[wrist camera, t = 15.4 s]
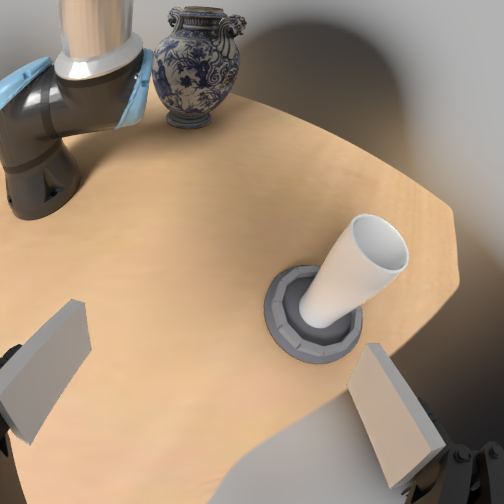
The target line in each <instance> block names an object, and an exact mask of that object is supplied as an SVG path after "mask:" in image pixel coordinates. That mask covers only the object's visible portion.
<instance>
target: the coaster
mask: <svg viewBox="0 0 504 504" xmlns="http://www.w3.org/2000/svg"><path fill="white" fill-rule="evenodd" d="M320 268H321V266H318V267H317V265H316V266H311V265H301V266H296V267H292V268H290V269H287V270H285V271H284V272H282V273H281V274H280V275H278V276H277V277H276V278H275V280H274V281H273V282H272V284H271V286H270V287H269V289H268V291H267V294H266V297H265V302H264V316H265V321H266V324H267V327H268V330H269V332H270V334H271V336H272V337H273V339H274V340H275V342H276V343H277V344H278V345H279V346H280V347H281V348H282V349H283V350H284V351H285V352H286V353H288V354H289V355H291V356H292V357H294V358H296V359H298V360H301V361H303V362H307V363H312V364H325V363H330V362H333V361H336V360H338V359H340V358H342V357H343V356H345V355H346V354H348V353H349V352H350V351H351V350H352V349H353V348H354V346H355V345H356V343H357V342H358V340H359V337H360V334H361V330H362V308H361V305H360V306H359V307H357V308H356V309H354V310H353V311H351V312H349V313H348V314H346V315H345V316H343V317H341V318H340V319H338V320H337V321H335V322H334V323H333V324H332V325H330V326H328V327H326V328H314V327H312V326H310V325H308V324H307V323H306V322H305V321H304V320H303V319H302V317H301V315H300V312H299V302H300V299H301V297H302V296H303V295H304V293H305V292H306V291H307V289H308V288H309V286H310V284H311V283H312V281H313V279H314V278H315V276H316V274H317V273H318V271H319V269H320Z"/></svg>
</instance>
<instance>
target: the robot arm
mask: <svg viewBox="0 0 504 504" xmlns="http://www.w3.org/2000/svg"><path fill="white" fill-rule="evenodd" d="M57 7H58V17H59V25H60V33H61V40H62V46H63V51H62V52H61V53H60V55H59V56H58V57H57V59H56V61H55V65H52V63H53V61H52V60H51V58H50V57H45V58H41V59H38V60H36V61H33V62H31V63H29V64H27V65H25V66H24V67H22V68H20V69H18V70H16V71H15V72H13V73H12V74H10V75H9V76H7V77H6V78H4V79H3V80H1V81H0V161H1V163H2V166H3V169H4V171H5V178H6V190H7V198H8V203H9V206H10V208H11V210H12V212H13V213H14V215H15V216H16V217H18V218H19V219H22V220H35V219H39V218H42V217H45V216H47V215H49V214H51V213H53V212H54V211H56V210H57V209H59V208H60V207H61V206H63V205H64V204H65V203H66V202H67V201H68V200H69V199H70V198H71V197H72V195H73V194H74V193H75V191H76V189H77V187H78V185H79V182H80V173H79V169H78V165H77V162H76V161H75V159H74V158H73V156H72V155H71V153H70V152H69V150H68V149H67V147H66V146H65V144H64V143H63V141H62V137H67V136H72V135H78V134H84V133H91V132H98V131H105V130H116V129H118V128H122V127H127V126H133V125H135V124H137V123H139V122H140V121H141V119H142V117H143V115H144V111H145V106H146V101H147V95H148V89H149V81H150V76H151V70H152V63H153V51H152V50H149V49H146V48H144V49H143V41H142V39H141V37H140V36H139V35H138V34H136V33H134V32H132V31H131V29H132V14H133V0H57ZM91 350H92V349H91V343H90V337H89V331H88V325H87V317H86V310H85V303H84V302H81V301H77V300H74V299H71V300H70V301H69V302H68V303H67V304H66V305H65V306H63V307H62V308H61V309H60V310H59V311H58V312H57V313H56V314H55V315H54V316H53V317H52V318H50V319H49V320H48V321H47V322H46V323H45V324H44V325H43V326H42V327H41V328H40V329H39V330H38V331H37V332H36V333H35V334H34V335H33V336H32V337H31V338H30V339H29V340H28V341H27V342H26V343H25V344H24V345H23V346H22V345H20V344H18V345H16V346H14V347H12V348H10V349H9V350H8V351H7V352H6V353H5V354H4V355H3V358H2V357H1V358H0V504H27V502H26V500H25V497H24V494H23V491H22V487H21V484H20V481H19V477H18V474H17V470H16V466H15V462H14V458H13V453H12V448H11V443H10V438H9V435H8V433H7V431H8V430H9V428H10V429H11V431H12V432H13V433H14V435H15V436H16V437H17V438H19V439H20V440H22V441H23V442H25V443H27V444H28V445H31V443H32V442H33V440H34V438H35V436H36V435H37V433H38V431H39V429H40V428H41V426H42V424H43V423H44V421H45V419H46V418H47V416H48V414H49V413H50V411H51V410H52V408H53V406H54V405H55V403H56V402H57V400H58V398H59V397H60V395H61V394H62V392H63V391H64V389H65V388H66V386H67V385H68V383H69V382H70V380H71V379H72V377H73V376H74V374H75V373H76V371H77V370H78V368H79V367H80V366H81V364H82V363H83V361H84V360H85V358H86V357H87V356H88V354H89V353H90V351H91ZM347 387H348V389H349V391H350V394H351V396H352V398H353V400H354V403H355V405H356V407H357V410H358V412H359V414H360V417H361V419H362V421H363V423H364V426H365V428H366V431H367V433H368V435H369V438H370V440H371V443H372V445H373V448H374V450H375V453H376V455H377V457H378V460H379V462H380V465H381V467H382V470H383V472H384V475H385V477H386V480H387V482H388V485H389V488H393V487H397V486H400V485H403V484H405V483H406V482H408V481H409V480H410V479H411V478H412V477H414V479H415V482H414V483H413V484H411V485H410V486H409V487H407V488H406V489H405V490H404V491H403V492H402V493H401V495H404V494H405V493H406V492H408V491H409V490H410V491H409V493H408V494H407V495H406V496H407V499H406V502H405V504H504V451H503V449H502V447H501V446H500V445H499V444H498V443H496V442H493V441H492V442H488V443H487V444H486V445H485V446H484V447H483V448H482V449H481V450H476V451H470V450H469V449H468V448H467V447H466V446H464V445H461V444H457V445H454V444H453V442H452V441H451V440H450V438H449V436H448V434H447V433H446V431H445V430H444V428H443V426H442V425H441V423H440V422H439V421H438V419H437V417H436V416H435V415H434V414H433V411H432V409H431V408H430V407H429V405H428V404H427V403H426V402H425V401H423V400H422V399H421V398H416V396H415V395H414V393H413V392H412V390H411V389H410V387H409V386H408V384H407V383H406V381H405V380H404V378H403V377H402V375H401V374H400V372H399V371H398V370H397V368H396V367H395V365H394V364H393V362H392V361H391V360H390V358H389V357H388V355H387V354H386V352H385V351H384V349H383V348H382V347H381V345H380V344H379V343H366V345H365V347H364V349H363V351H362V354H361V356H360V358H359V360H358V362H357V365H356V367H355V369H354V371H353V373H352V375H351V377H350V379H349V381H348V383H347ZM479 481H480V487H479V488H478V489H476V490H474V487H473V486H474V485H475V484H477V483H478V482H479Z"/></svg>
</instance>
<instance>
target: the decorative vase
mask: <svg viewBox="0 0 504 504" xmlns="http://www.w3.org/2000/svg"><path fill="white" fill-rule="evenodd" d="M222 18H225V19H223V20H222V21H221V19H222ZM220 21H221V22H220ZM168 22H169V23H170V26H171V27H173V29H172V31H171V33H170V34H169V36H168V37H167V38H165V39H164V40H162V41H161V42H160V43H159V45H158V46H157V47H156V49H155V51H154V54H153V63H152V78H153V83H154V86H155V89H156V92H157V94H158V96H159V98H160V100H161V102H162V103H163V104H164V106H165V107H166V108H167V109H169V110H170V112H169V113H168V114H167V117H166V120H167V122H168V123H169V124H171V125H172V126H175V127H178V128H185V129H194V128H200V127H203V126H206V125H208V124H209V123H210V121H211V115H210V114H209V113H208V112H210V111H211V110H213V109H215V108H216V107H217V106H218V105H219V104H220V103H221V102H222V101H223V100H224V99H225V98H226V96H227V95H228V93H229V92H230V90H231V88H232V86H233V84H234V82H235V79H236V76H237V74H238V70H239V64H240V55H239V51H238V48H237V47H236V44H235V42H234V38H235V37H236V36H237V35H243V34H244V33H243V30H244V29H245V25H246V22H245V18H244V17H241V16H240V15H232V16H230V17H227V14H225V13H223V9H220V8H210V7H185V8H184V10H182V9H181V8H180V7H175V8H172V9H171V10H170V11H169V14H168ZM219 22H220V25H219ZM172 23H174V24H175V25H173V24H172Z"/></svg>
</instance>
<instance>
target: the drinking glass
mask: <svg viewBox="0 0 504 504" xmlns="http://www.w3.org/2000/svg"><path fill="white" fill-rule="evenodd" d="M408 261H409V254H408V249H407V246H406V243H405V241H404V240H403V238H402V236H401V235H400V234H399V232H398V231H397V230H396V229H395V228H394V227H393V226H392V225H391V224H390V223H388V222H387V221H385V220H384V219H382V218H380V217H378V216H375V215H372V214H360V215H357V216H356V217H354V218H353V219H352V221H351V222H350V223H349V225H348V226H347V227H346V228H345V230H344V231H343V232H342V234H341V235H340V236H339V238H338V239H337V241H336V242H335V244H334V245H333V247H332V248H331V250H330V252H329V254H328V255H327V257H326V259H325V261H324V262H323V264H322V266H321V268H320V269H319V271H318V273H317V274H316V276H315V278H314V279H313V281H312V283H311V284H310V286H309V288H308V289H307V291H306V292H305V293H304V295H303V296H302V297H301V299H300V302H299V312H300V315H301V317H302V319H303V320H304V321H305V322H306V323H307V324H308V325H310V326H312V327H314V328H326V327H328V326H330V325H332V324H333V323H334V322H335V321H337V320H338V319H340V318H341V317H343V316H345V315H346V314H348V313H349V312H351V311H353V310H354V309H356V308H357V307H359V306H360V305H362V304H363V303H365V302H367V301H368V300H370V299H371V298H373V297H374V296H376V295H377V294H378V293H380V292H381V291H382V290H383V289H385V288H386V287H387V286H388V285H389V284H390V283H391V282H393V281H394V280H395V279H396V278H397V277H398V276H399V275H400V273H401V272H402V271H403V270H404V269H405V268H406V267H407V264H408Z"/></svg>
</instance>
